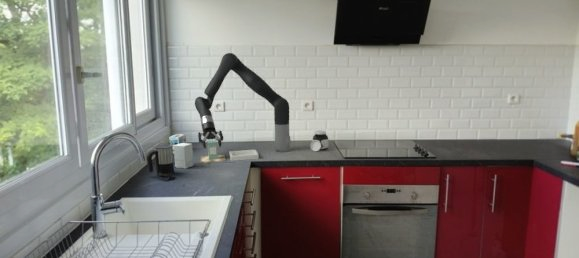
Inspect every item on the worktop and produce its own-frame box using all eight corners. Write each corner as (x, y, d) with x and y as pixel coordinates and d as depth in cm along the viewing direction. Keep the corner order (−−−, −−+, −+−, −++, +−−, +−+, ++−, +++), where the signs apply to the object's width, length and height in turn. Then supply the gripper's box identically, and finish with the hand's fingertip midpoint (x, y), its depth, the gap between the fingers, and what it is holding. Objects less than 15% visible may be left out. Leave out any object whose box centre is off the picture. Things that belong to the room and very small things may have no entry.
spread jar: (327, 147, 274) (327, 130, 272) (329, 151, 263) (329, 133, 261) (309, 148, 274) (309, 130, 272) (310, 152, 262) (310, 133, 260)
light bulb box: (179, 154, 264) (178, 137, 262) (169, 153, 265) (168, 136, 263) (187, 150, 274) (186, 134, 272) (177, 150, 276) (176, 133, 274)
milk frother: (166, 170, 225) (164, 143, 223) (187, 174, 217) (186, 146, 215) (144, 177, 213) (142, 148, 211) (166, 181, 205) (164, 152, 203)
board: (224, 156, 255) (224, 154, 255) (225, 161, 242) (225, 160, 241) (200, 157, 252) (200, 156, 252) (200, 163, 239) (200, 161, 239)
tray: (255, 154, 259) (255, 149, 258) (258, 159, 245) (258, 154, 245) (229, 156, 256) (229, 151, 255) (231, 161, 242) (230, 156, 242)
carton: (216, 156, 250) (216, 140, 248) (217, 158, 245) (216, 142, 243) (208, 157, 249) (207, 141, 247) (209, 159, 244) (208, 142, 242)
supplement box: (194, 165, 235) (192, 143, 233) (185, 168, 228) (184, 146, 226) (183, 164, 238) (182, 142, 236) (174, 167, 231) (173, 145, 229)
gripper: (196, 121, 248) (201, 144, 239) (220, 120, 253) (225, 142, 244) (195, 129, 254) (199, 151, 245) (218, 127, 259) (224, 149, 250)
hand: (212, 146), depth 245 cm, fingers open, 8 cm apart
